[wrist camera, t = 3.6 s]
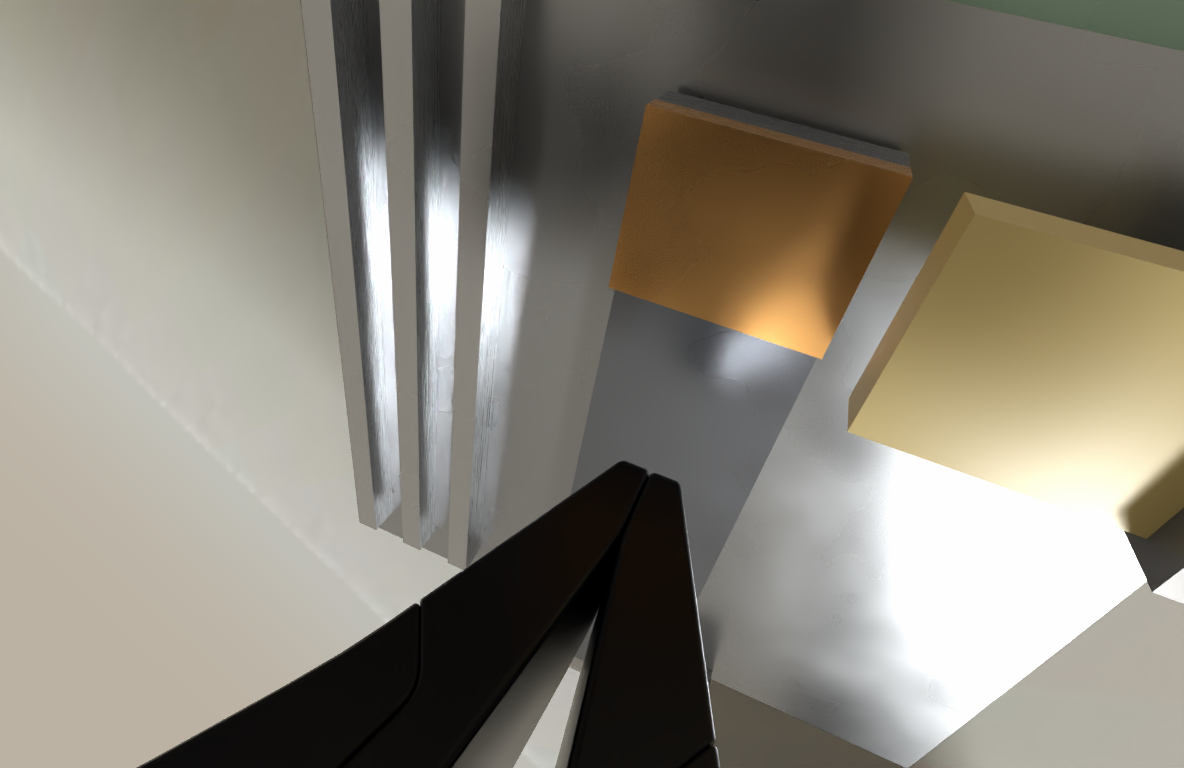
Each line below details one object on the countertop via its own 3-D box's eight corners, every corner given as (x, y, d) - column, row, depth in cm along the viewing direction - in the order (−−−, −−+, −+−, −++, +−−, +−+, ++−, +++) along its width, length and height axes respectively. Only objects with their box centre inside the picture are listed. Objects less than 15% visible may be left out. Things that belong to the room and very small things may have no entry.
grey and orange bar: (657, 678, 15) (644, 723, 14) (545, 627, 16) (525, 666, 15) (916, 153, 7) (922, 179, 6) (665, 86, 8) (638, 102, 7)
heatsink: (912, 742, 18) (924, 927, 14) (374, 500, 21) (278, 602, 18) (1801, 0, 6) (2981, 24, 3) (309, -252, 10) (5, -380, 6)
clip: (1241, 482, 8) (1390, 681, 5) (844, 350, 9) (838, 475, 6) (1494, 274, 6) (1868, 450, 4) (956, 137, 7) (1001, 210, 5)
